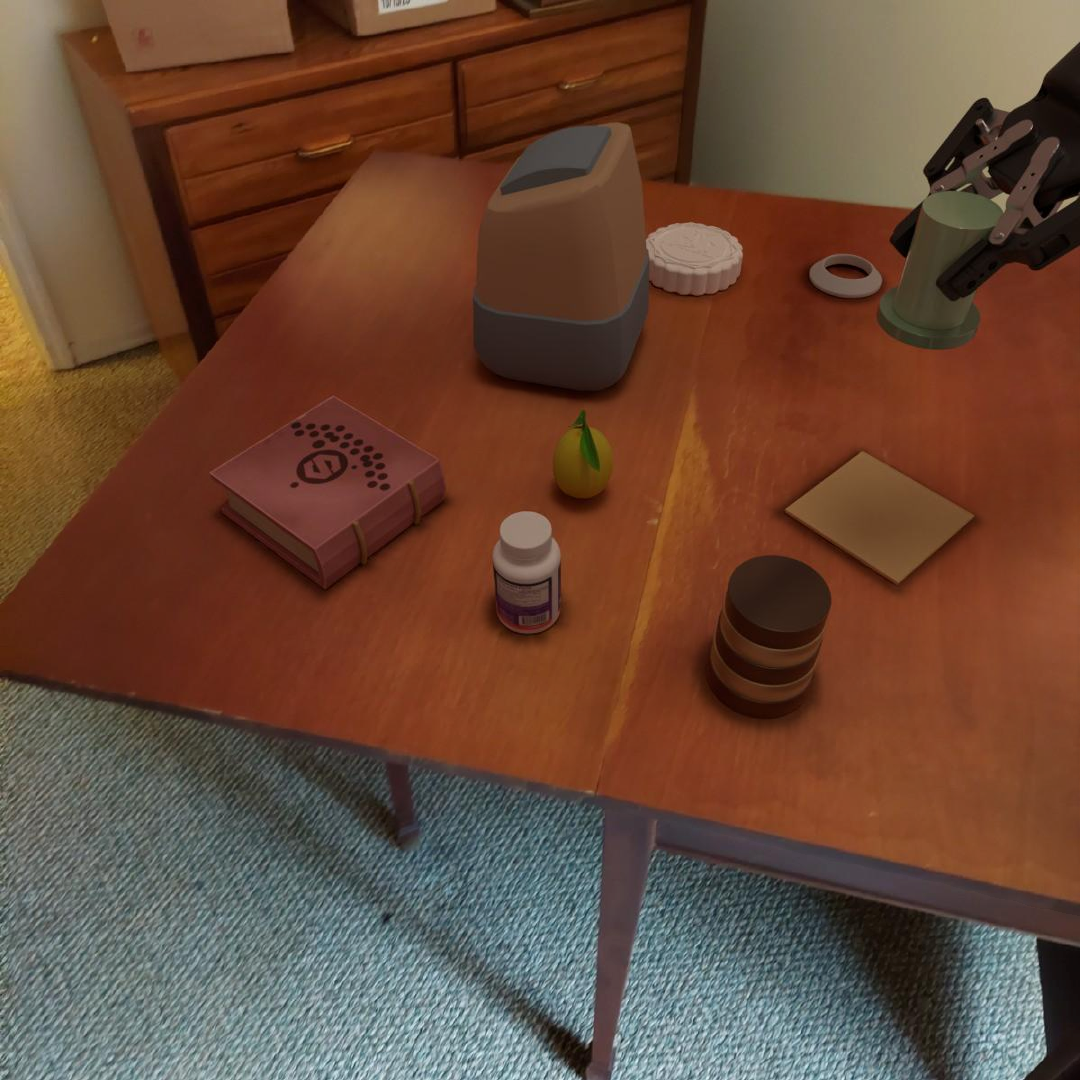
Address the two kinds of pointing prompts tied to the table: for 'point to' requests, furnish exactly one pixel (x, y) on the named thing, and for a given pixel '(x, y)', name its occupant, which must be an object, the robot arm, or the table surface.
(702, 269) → the mooncake
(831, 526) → the mat
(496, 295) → the small trash can
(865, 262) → the ring
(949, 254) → the ring spool
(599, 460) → the lemon
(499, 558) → the pill bottle
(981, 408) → the table surface
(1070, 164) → the robot arm
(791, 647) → the stack
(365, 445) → the book
